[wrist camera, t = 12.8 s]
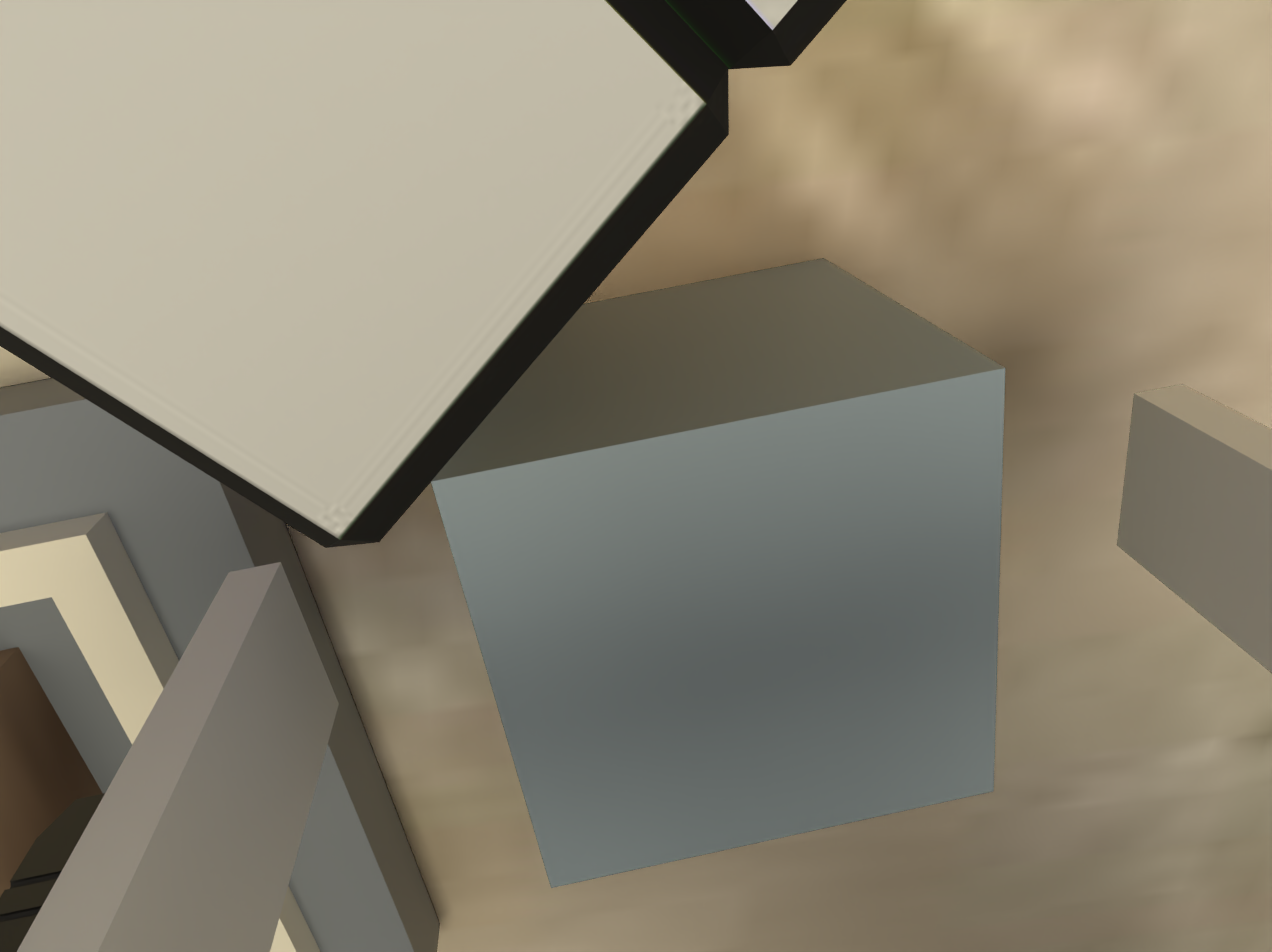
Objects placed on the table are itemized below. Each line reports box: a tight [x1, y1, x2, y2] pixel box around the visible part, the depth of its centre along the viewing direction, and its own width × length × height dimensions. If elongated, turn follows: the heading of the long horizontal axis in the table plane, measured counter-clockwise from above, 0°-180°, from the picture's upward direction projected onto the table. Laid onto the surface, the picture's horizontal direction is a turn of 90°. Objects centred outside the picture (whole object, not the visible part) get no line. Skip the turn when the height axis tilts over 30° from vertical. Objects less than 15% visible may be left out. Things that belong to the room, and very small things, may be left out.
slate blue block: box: [431, 258, 1005, 888], centre depth 15 cm, size 7×7×7 cm
